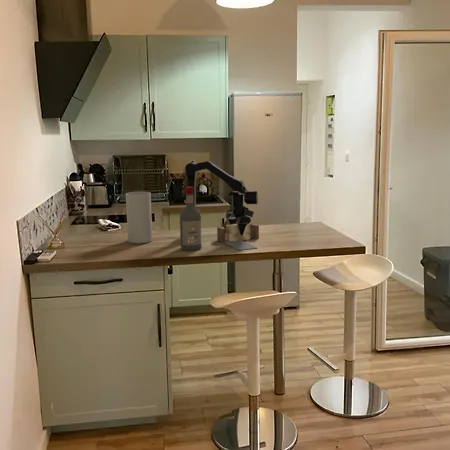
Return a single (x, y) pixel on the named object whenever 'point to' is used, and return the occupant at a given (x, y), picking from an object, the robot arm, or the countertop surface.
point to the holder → (253, 232)
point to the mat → (240, 245)
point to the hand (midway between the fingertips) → (238, 233)
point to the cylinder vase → (139, 217)
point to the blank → (237, 233)
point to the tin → (227, 224)
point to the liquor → (190, 225)
